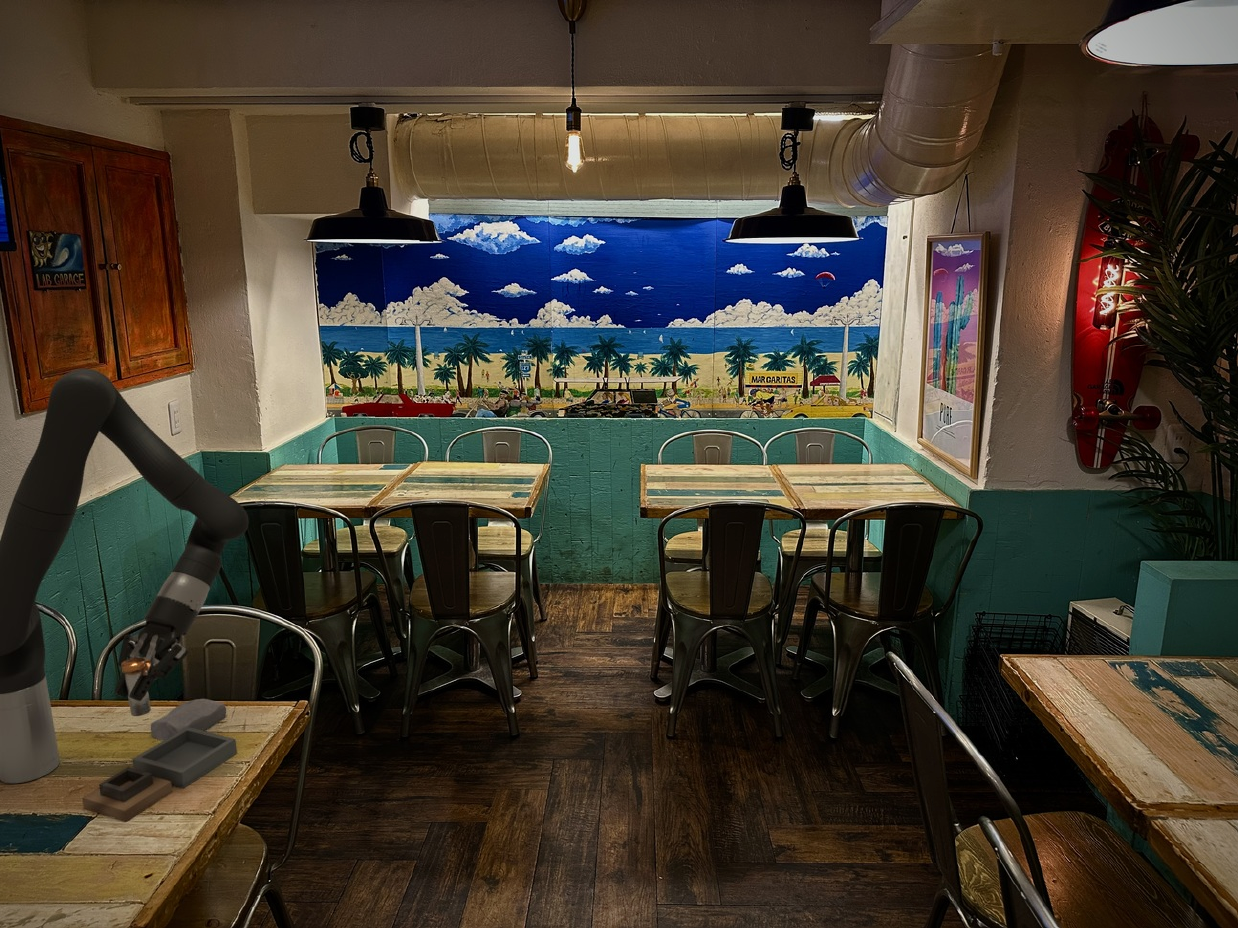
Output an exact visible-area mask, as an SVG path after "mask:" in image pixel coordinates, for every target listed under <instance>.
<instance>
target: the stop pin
mask: <svg viewBox="0 0 1238 928" xmlns="http://www.w3.org/2000/svg"><path fill="white" fill-rule="evenodd" d="M145 664H146V662H145V659H144V657H142V658H132V659H128V658H127V660H126V661H124V662H122V663H121V667H120V668H121V673H122V674H123V673H124V674H125V680H126V686H127V692H128V695H127V697H128V704H129V709H130V715H131V716H133V717H141V716H144V715H147V714H148V713H150V712H151V711H152V709H151V702H150V695H149V690H148V691H147V693H146V695H145V696H144V697H143V698H142V700H141V701H137V700H134V699H132V698H130V697H129V695H130V693H131V691H132V689H133V687H134V685H135V683H136V682H137V680H138V678H139V676H143V675H142V672H143V669H144V668H145Z"/></svg>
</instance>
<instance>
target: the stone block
mask: <svg viewBox="0 0 1238 928" xmlns="http://www.w3.org/2000/svg"><path fill="white" fill-rule="evenodd" d="M226 714H227V707H226V705H225V703H223V702H219V701H215V700H211V699H207V698H199V699H193V700H188V701H186V702H183V703H181V704H180V705H178V706H176V707H174V708H173V709H172V710H169V712H168V713H167V714H166V715H164V716H162V717H160V718H158V719H156V720H154V721H152V722H151V723H150V732H151V735H152V738H154V739H156V740H157V741H164V740H166V739H168V738H169V737H171V736H173V735H174V734H176V733H178V732H180V731H181V730H183V729H185V728H187V727H190V728H194V729H198V730H202V731H207V730H208V729H209V728H212V726H214V725H216V724H217V723H219V722H220V720H221V721H222V720H223V719H224V718H225V717H226Z"/></svg>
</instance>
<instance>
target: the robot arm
mask: <svg viewBox="0 0 1238 928" xmlns="http://www.w3.org/2000/svg"><path fill="white" fill-rule="evenodd" d="M49 393H50V394H49V398H48V403H47V409H46V413H45V417H44V423H43V426H42V431H41V435H40V439H39V442H38V445H37V447H36V449H35V452H34V454H33V455H32V458H31V459H30V462H29V463H28V465H27V467H26V469H25V472H24V473H23V476H22V477H21V480H20V482H19V485H18V487H17V489H16V492H15V493H14V496H13V498H12V502H11V504H10V508H9V511H8V513H7V516H6V519H5V523H4V526H3V530H2V534H1V536H0V782H2V783H5V784H19V783H26V782H30V781H33V780H37V779H40V778H41V777H44V776H46V775H48V774H50V773H51V772H53V771H54V770H55V769H56V768H57V767H58V766H59V765H60V753H59V749H58V742H57V736H56V729H55V724H54V717H53V713H52V712H53V711H52V704H51V699H50V694H49V688H48V687H49V686H48V682H47V677H46V671H45V670H46V669H45V662H46V646H45V645H46V644H45V639H44V631H43V624H42V623H43V622H42V617H41V614H40V613H41V612H40V610H39V607H38V605H37V603H36V598H37V594H38V591H39V589H40V586H41V585H42V582H43V579H44V578H45V576H46V574H47V573H48V571H49V569H50V568H51V566H52V564H53V562H54V560H55V558H56V557H57V555H58V553H59V552H60V549H61V547H62V546H63V544H64V542H65V539H66V537H67V535H68V533H69V531H70V528H71V525H72V523H73V520H74V517H75V515H76V512H77V508H78V505H79V502H80V499H81V494H82V488H83V483H84V475H85V468H86V464H87V460H88V457H89V454H90V452H91V449H92V447H93V445H94V444H95V440H96V439H97V436H98V435H99V433H100V434H102V435H104V436H105V438H107V439H108V440H109V441H111V443H113V444H114V446H116V447H117V448H118V450H120V451H121V452H122V454H123V455H124V456H125V457H126V458H127V460H128V461H129V462H130V463H131V464H132V466H133V467H134V468H135V469H136V471H137V472H138V473H139V474H140V476H142V478H143V479H144V480H145V481H146V482H147V483H148V484H149V485H150V486H151V487H152V488H153V489H154V490H156V492H158V493H159V494H160V495H161V496H162V497H163V498H164V499H165V500H167V502H169V503H170V504H171V505H173V506H174V507H175V508H176V509H178V510H180V511H185V512H189V513H191V514H192V515H194V517H195V518H196V520H195V521H194V523H193V525H192V528H191V529H190V532H189V534H188V538H187V540H186V544H185V548H184V550H183V552H182V554H181V555H180V557H179V559H178V560H177V562H176V564H175V565H174V567H173V569H172V571H171V573H170V574H169V576H168V577H167V578H166V580H165V581H164V582H163V584H162V586H161V588H160V589H159V591H158V593H157V595H156V596H155V598H154V599H153V602H152V603H151V605H150V607H149V609H148V611H147V612H146V614H145V616H144V621H145V625H144V627H143V628H142V629H141V630H140V631H139V632H138V633H137V634H135V635H134V634H133V635H131V634H129V633H128V634H125V635H124V637H123V639H122V644H121V649H120V653H119V657H118V662H117V666H118V667H119V668H121V663H122V662H124V661H126V660H128V659H132V658H144V659H145V662H146V664H145V668H144V669H143V672H142V675H143V676H139V678H138V680H137V682H136V683H135V685H134V687H133V689H132V691H131V693H130V695H129V697H130V698H132V699H134V700H137V701H141V700H142V698H143V697H144V696H145V695H146V693H147V691H148V692H149V689H150V687H151V685H152V684H153V682H154V681H156V680H157V679H166V678H167V677H168V676H169V675H170V674H171V673H172V671H173V670H175V668H176V667H177V666H178V665H179V664H180V663H181V662H182V661H183V660H184V659H185V658H186V656H187V655H188V654H189V650H188V649H187V648H186V647H184V646H182V645H181V641H182V638H183V637H182V636H186V635H188V634H189V632H190V630H191V628H192V627H193V624H194V623H195V620H196V618H197V617H198V615H199V613H200V611H201V609H202V607H203V606H204V604H205V602H206V599H207V598H208V594H209V591H210V589H211V588H212V585H213V583H214V581H215V580H216V578H217V576H218V574H219V572H220V570H221V567H222V565H223V561H222V560H223V559H222V558H221V555H222V553H223V550H224V549H225V546H226V544H227V543H228V541H232V540H236V539H238V538H240V537H241V536H243V535H244V534H245V532H247V530H248V528H249V523H250V522H249V516H248V514H247V511H246V510H245V509H244V507H243V506H242V505H241V504H240V503H239V502H238V501H237V500H235V498H233V497H232V496H230V495H229V494H227V493H226V492H225V491H223V490H221V489H220V488H218V487H217V486H215V485H213V484H211V483H210V482H209V481H207V480H206V479H205V478H204V476H202V475H201V474H200V473H199V471H197V470H196V469H195V468H193V467H192V465H190V464H189V463H188V462H187V461H186V460H185V459H184V458H183V457H181V455H180V454H178V453H177V451H175V450H174V449H173V448H172V447H171V446H170V445H168V444H167V443H166V442H165V441H164V440H163V439H162V438H161V437H160V436H158V435H157V434H156V433H155V432H154V431H153V430H152V429H151V428H150V427H149V425H148V424H146V423H145V422H144V420H143V419H142V418H141V417H140V416H139V414H137V413H136V411H134V409H133V408H132V407H131V405H130V404H129V403H128V402H127V401H126V399H125V398H124V397H123V395H122V394H121V393H120V391H119V390H118V389H117V388H116V386H115V385H114V384H113V382H112V380H110V378H109V377H108V376H106V374H104V373H102V372H100V371H97V370H95V369H91V368H77V369H74V370H71V371H69V372H67V373H65V374H64V375H62V376H61V377H60V378H59V379H58V380H57V381H56V382H55V383H54V385H53V386H52V389H51V390H50V392H49ZM140 655H141V656H140ZM164 667H165V668H164ZM163 668H164V669H163ZM114 694H115V695H116V696H119V697H122V698H127V697H128V692H127V686H126V680H125V674H124V673H123V672H122V675H121V677H120V679H119V681H118V682H117V684H116V686H115V689H114Z"/></svg>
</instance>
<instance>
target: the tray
mask: <svg viewBox="0 0 1238 928" xmlns="http://www.w3.org/2000/svg"><path fill="white" fill-rule="evenodd" d="M237 754H238V748H237V741H236V738H234V737H229V736H225V735H222V734H217V733H214V732H209V731H207V730H205V731H202V730H198V729H194V728H190V727H187V728H185V729H183V730H181V731H180V732H178V733H176V734H174V735H173V736H171V737H169V738H168V739H166V740H161V741H160V742H159V743H158V744H156V745H154V746H152V747H150V748H149V749H147V750H145V751H144V752H142V753H140V754H138V755H137V756H135V757H133V758H132V759H131V761H132V765H133V766H132V768H134V769H137V770H141V771H144V772H148V773H151V774H152V776H154V777H157V778H161V779H164V780H168V781H171V784H172V786H173V787H178V788H181V787H182V789H185V788H187V787H188V786H190V785H192V784H193V783H194V782H196V781H197V780H199V779H200V778H202V777H203V776H205V775H207V774H208V773H209V772H211V771H213V770H215V769H216V768H217V767H219V766H221V764H224V763H225V762H226V761H228V760H229V759H231V758H233V757H234V756H235V755H237ZM189 784H190V785H189ZM186 786H187V787H186Z"/></svg>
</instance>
